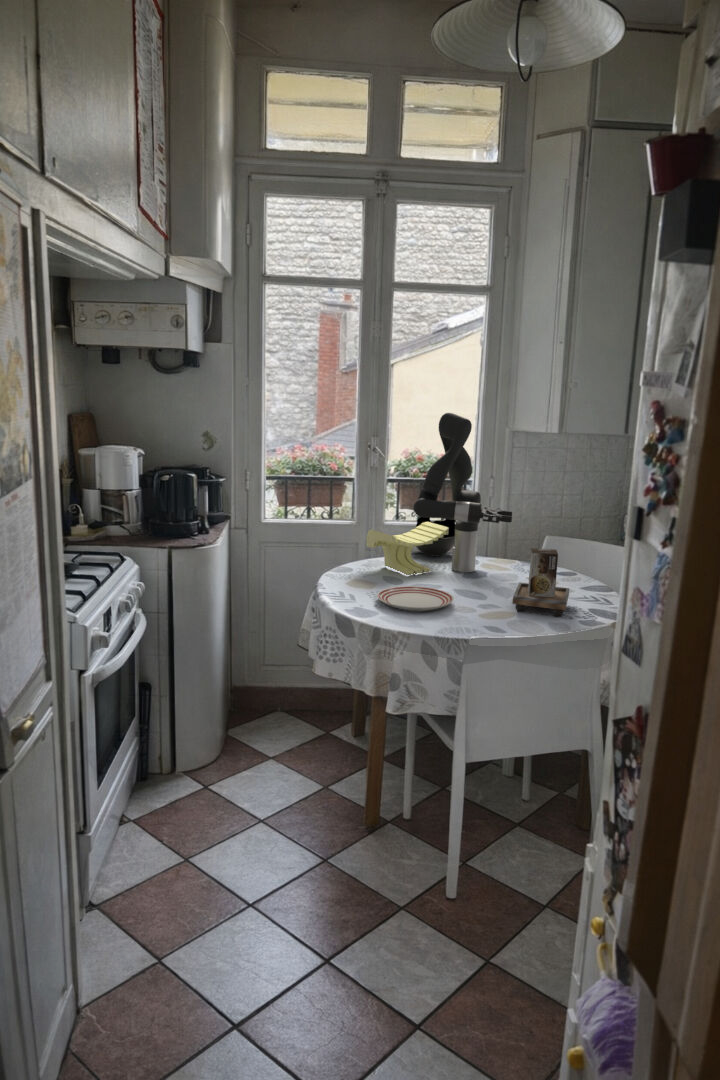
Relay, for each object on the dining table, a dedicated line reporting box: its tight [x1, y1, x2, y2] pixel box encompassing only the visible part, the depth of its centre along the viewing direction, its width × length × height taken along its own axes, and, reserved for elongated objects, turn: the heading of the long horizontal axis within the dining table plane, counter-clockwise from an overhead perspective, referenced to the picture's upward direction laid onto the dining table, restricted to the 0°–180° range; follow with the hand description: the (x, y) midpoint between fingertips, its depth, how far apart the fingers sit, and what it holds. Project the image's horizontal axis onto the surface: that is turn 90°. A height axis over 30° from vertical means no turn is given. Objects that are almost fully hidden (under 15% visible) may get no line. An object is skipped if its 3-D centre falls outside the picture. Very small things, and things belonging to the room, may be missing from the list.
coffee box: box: [528, 548, 559, 597], centre depth 282 cm, size 9×6×16 cm
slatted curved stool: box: [366, 521, 449, 575], centre depth 326 cm, size 30×16×18 cm, turn 127°
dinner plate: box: [376, 585, 455, 612], centre depth 285 cm, size 28×27×3 cm
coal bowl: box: [413, 516, 457, 557], centre depth 351 cm, size 20×20×19 cm
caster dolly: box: [512, 582, 570, 617], centre depth 284 cm, size 18×18×6 cm
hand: (511, 517), depth 293 cm, fingers open, 8 cm apart
